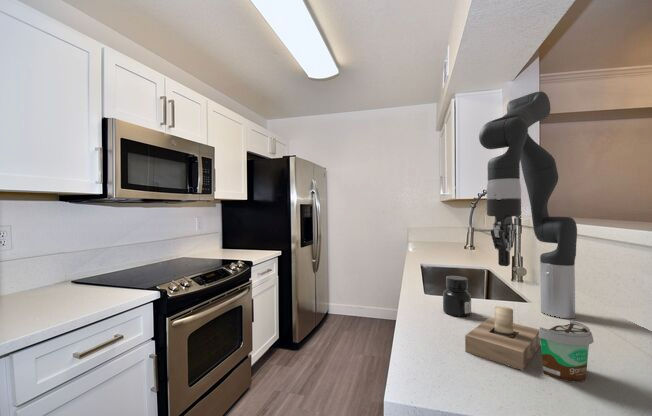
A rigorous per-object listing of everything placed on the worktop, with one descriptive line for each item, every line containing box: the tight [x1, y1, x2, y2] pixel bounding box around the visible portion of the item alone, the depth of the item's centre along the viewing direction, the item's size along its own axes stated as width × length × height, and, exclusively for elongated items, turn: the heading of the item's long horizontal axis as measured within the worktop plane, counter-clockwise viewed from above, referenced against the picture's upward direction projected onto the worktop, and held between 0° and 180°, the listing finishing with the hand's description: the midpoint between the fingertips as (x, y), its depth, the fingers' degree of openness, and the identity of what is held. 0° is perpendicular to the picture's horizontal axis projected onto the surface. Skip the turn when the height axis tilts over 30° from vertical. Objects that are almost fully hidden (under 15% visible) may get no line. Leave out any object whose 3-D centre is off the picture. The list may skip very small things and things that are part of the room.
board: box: [464, 317, 541, 371], centre depth 73 cm, size 18×12×4 cm, turn 133°
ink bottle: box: [442, 275, 472, 318], centre depth 99 cm, size 10×9×12 cm
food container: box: [538, 319, 594, 383], centre depth 61 cm, size 12×6×10 cm, turn 114°
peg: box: [494, 305, 514, 339], centre depth 73 cm, size 4×4×10 cm
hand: (504, 265), depth 73 cm, fingers closed
